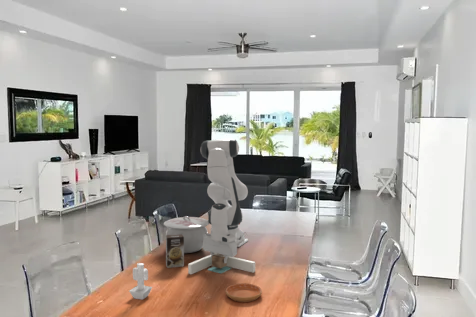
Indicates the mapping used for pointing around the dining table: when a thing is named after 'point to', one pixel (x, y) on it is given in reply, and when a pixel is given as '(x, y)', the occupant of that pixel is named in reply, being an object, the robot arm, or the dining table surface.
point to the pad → (219, 269)
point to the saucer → (243, 292)
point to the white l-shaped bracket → (231, 262)
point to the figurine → (140, 282)
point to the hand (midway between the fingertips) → (219, 261)
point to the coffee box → (174, 250)
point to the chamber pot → (188, 231)
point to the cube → (218, 261)
